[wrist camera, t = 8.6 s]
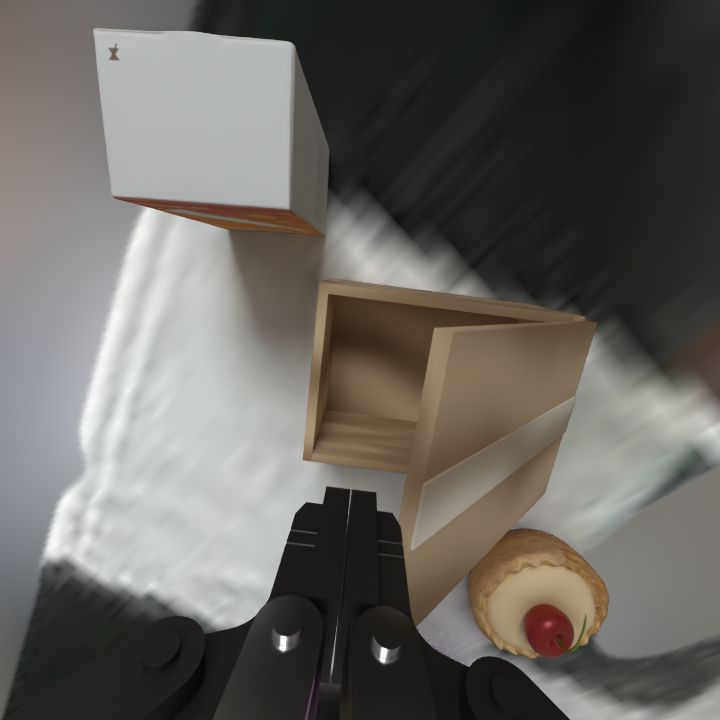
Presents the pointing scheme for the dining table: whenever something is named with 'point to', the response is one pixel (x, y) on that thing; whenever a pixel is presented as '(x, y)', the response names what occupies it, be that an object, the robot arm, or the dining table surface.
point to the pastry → (536, 595)
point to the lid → (483, 443)
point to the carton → (384, 365)
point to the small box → (213, 129)
